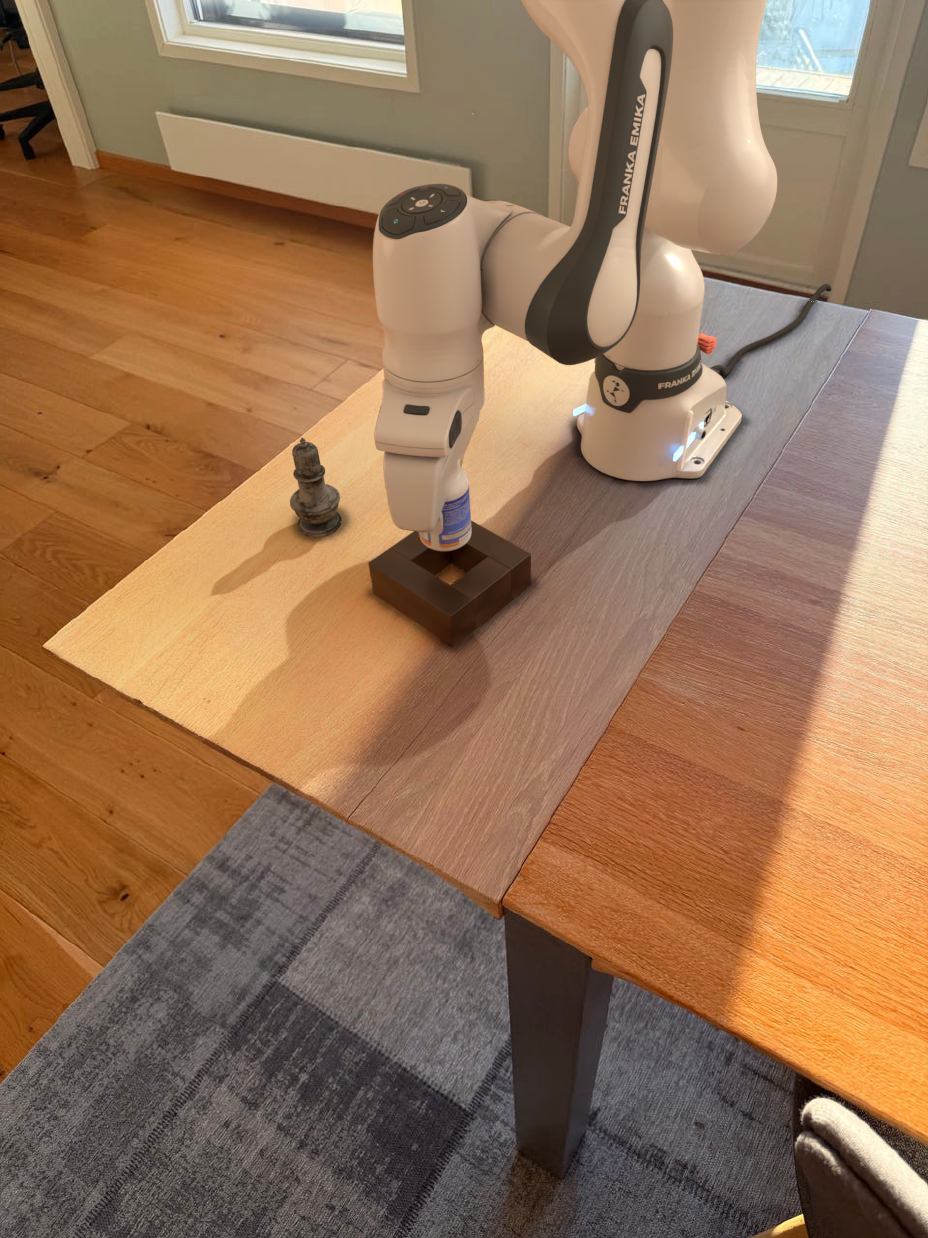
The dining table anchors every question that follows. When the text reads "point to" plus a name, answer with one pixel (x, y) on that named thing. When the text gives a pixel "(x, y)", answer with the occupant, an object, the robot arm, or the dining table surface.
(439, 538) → the pill bottle
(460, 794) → the dining table surface
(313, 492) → the grey metal finial
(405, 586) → the socket block
